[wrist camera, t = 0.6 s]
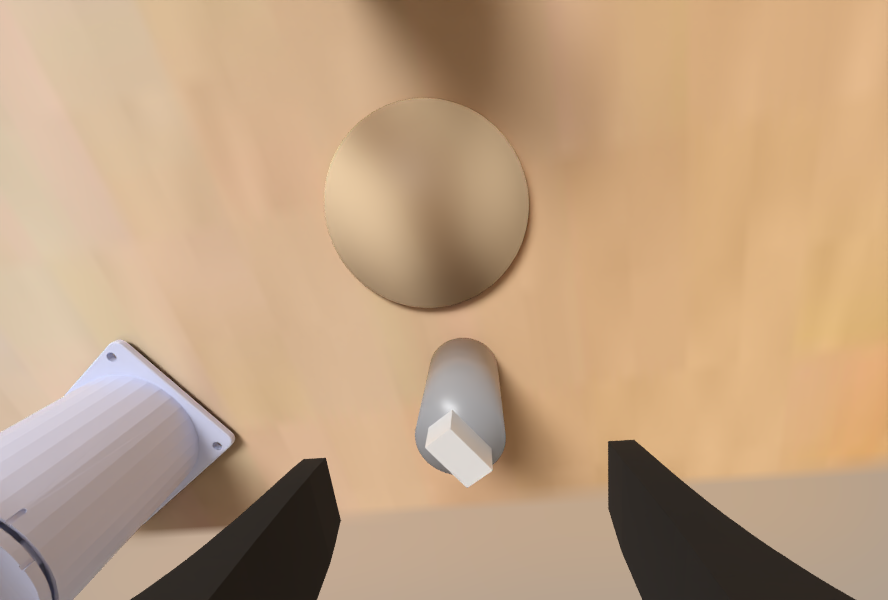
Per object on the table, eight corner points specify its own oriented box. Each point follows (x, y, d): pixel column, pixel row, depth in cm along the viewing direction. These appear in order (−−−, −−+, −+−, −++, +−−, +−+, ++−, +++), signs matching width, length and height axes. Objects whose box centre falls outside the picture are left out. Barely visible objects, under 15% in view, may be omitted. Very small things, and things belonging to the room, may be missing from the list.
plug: (461, 410, 22) (455, 514, 15) (416, 366, 21) (390, 453, 15) (511, 372, 21) (528, 464, 15) (466, 324, 20) (462, 398, 14)
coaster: (422, 340, 21) (421, 344, 20) (286, 202, 19) (282, 203, 19) (570, 216, 19) (572, 217, 18) (430, 47, 17) (429, 45, 17)
